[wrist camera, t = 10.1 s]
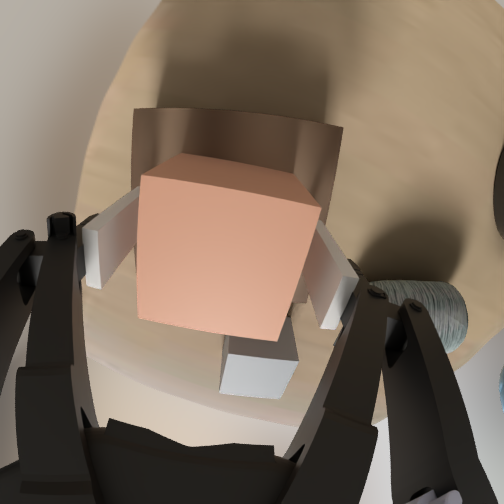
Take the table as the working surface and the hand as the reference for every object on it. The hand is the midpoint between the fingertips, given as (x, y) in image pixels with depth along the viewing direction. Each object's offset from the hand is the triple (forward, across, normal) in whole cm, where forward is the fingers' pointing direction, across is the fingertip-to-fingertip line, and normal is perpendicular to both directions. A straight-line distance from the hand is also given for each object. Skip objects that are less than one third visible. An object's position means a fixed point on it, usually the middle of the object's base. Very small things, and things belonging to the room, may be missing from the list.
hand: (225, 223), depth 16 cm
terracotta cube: (+2, 0, 0) cm, 2 cm away
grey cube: (+6, -5, +14) cm, 16 cm away
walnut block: (+7, 0, 0) cm, 7 cm away
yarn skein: (+7, -19, +7) cm, 21 cm away
